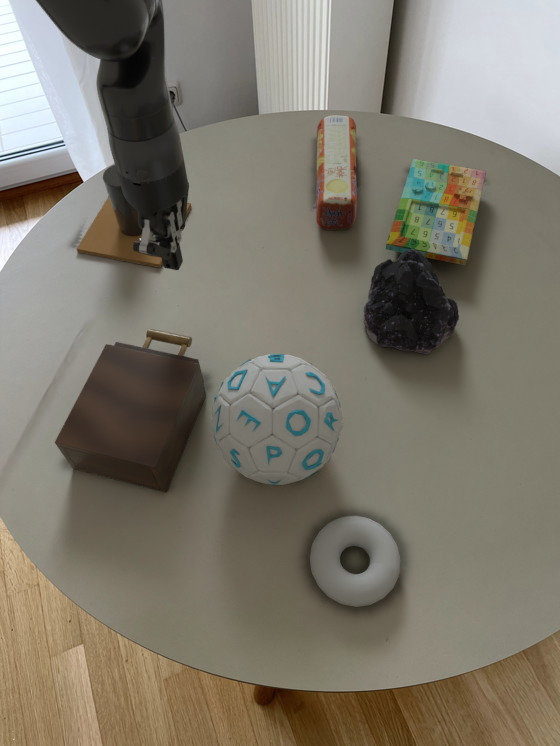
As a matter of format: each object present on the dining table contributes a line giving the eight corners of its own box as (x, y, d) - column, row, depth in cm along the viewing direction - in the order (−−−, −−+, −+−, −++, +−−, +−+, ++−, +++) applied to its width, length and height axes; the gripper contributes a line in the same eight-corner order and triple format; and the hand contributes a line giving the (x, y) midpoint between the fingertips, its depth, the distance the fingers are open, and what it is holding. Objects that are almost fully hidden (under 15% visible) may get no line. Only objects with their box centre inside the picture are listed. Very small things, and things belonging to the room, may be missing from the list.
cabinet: (119, 374, 89) (105, 343, 83) (206, 393, 87) (198, 363, 81) (72, 468, 81) (54, 442, 75) (166, 492, 79) (155, 467, 73)
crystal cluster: (427, 378, 87) (448, 332, 79) (340, 331, 91) (352, 282, 83) (465, 316, 94) (489, 268, 86) (383, 275, 98) (398, 225, 90)
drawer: (137, 340, 91) (128, 316, 86) (214, 356, 89) (209, 333, 84) (82, 450, 81) (69, 430, 77) (167, 471, 79) (159, 452, 75)
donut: (310, 521, 76) (309, 609, 71) (310, 510, 73) (309, 600, 68) (395, 523, 76) (401, 611, 70) (399, 511, 73) (405, 602, 67)
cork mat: (77, 252, 102) (76, 248, 101) (113, 193, 109) (112, 189, 109) (160, 268, 99) (159, 264, 99) (191, 206, 107) (190, 202, 106)
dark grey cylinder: (113, 233, 103) (96, 183, 95) (126, 211, 106) (111, 160, 97) (144, 239, 102) (129, 188, 94) (156, 216, 105) (143, 165, 96)
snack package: (356, 232, 102) (359, 199, 96) (313, 232, 102) (314, 199, 97) (354, 146, 114) (357, 112, 108) (316, 146, 114) (317, 112, 109)
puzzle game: (487, 166, 103) (468, 255, 92) (481, 189, 106) (461, 278, 96) (414, 153, 105) (386, 239, 95) (410, 177, 109) (383, 262, 98)
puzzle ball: (213, 502, 78) (195, 444, 65) (226, 395, 86) (212, 325, 74) (340, 507, 77) (346, 449, 65) (340, 398, 85) (346, 328, 73)
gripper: (139, 115, 75) (165, 226, 90) (92, 190, 68) (127, 297, 83) (200, 124, 74) (216, 235, 89) (158, 202, 67) (183, 308, 82)
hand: (173, 265), depth 86 cm, fingers closed
